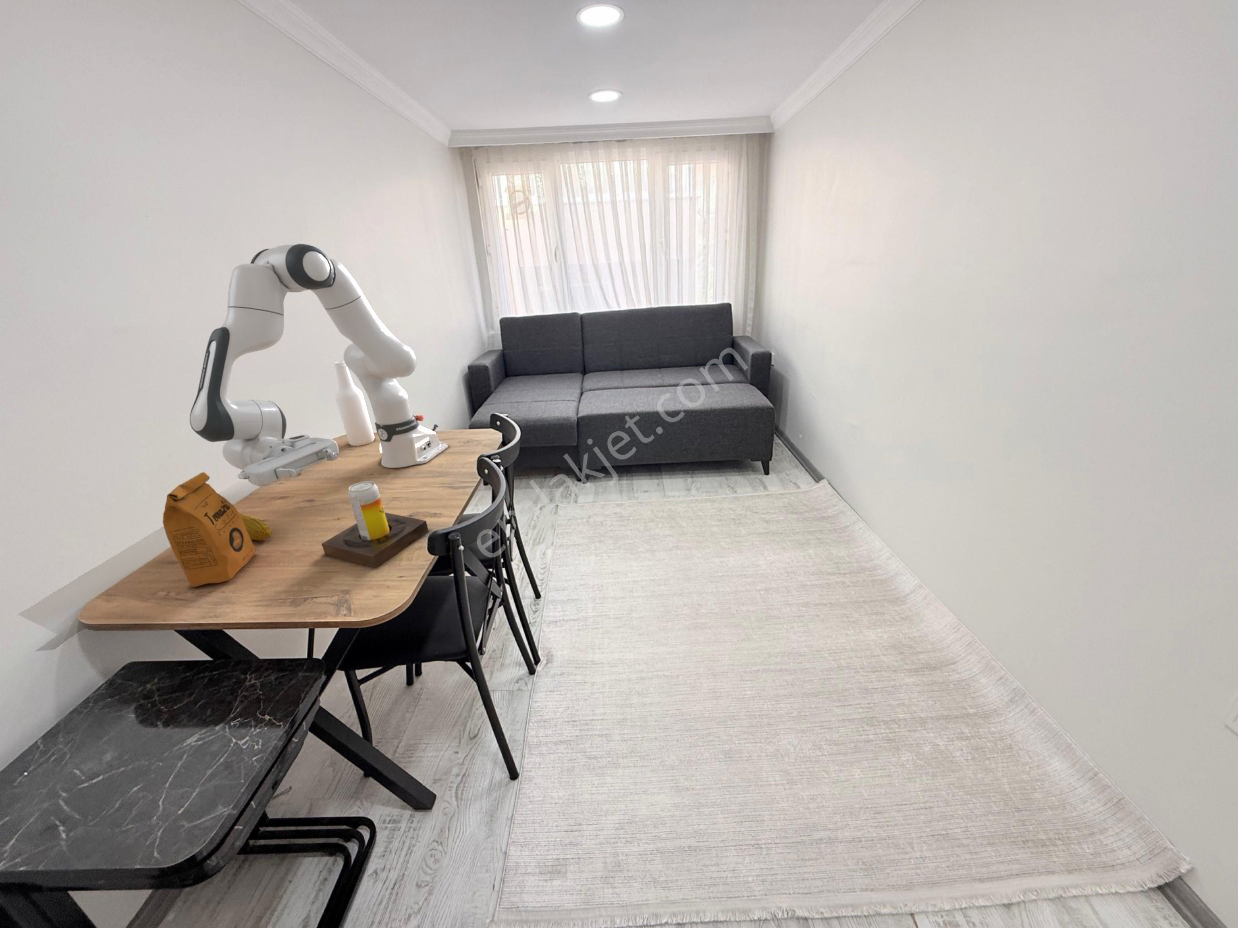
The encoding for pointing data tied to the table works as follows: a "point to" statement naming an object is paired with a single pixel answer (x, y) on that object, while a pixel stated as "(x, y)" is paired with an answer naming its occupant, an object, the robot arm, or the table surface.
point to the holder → (375, 541)
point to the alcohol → (352, 408)
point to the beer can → (368, 510)
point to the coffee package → (205, 532)
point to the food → (256, 528)
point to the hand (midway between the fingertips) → (316, 464)
